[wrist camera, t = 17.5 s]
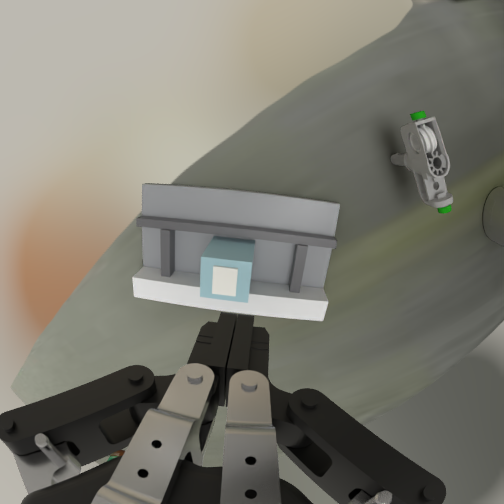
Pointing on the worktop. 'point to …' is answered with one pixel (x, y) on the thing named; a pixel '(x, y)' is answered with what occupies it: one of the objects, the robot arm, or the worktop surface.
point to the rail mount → (241, 227)
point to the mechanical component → (426, 160)
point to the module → (227, 269)
